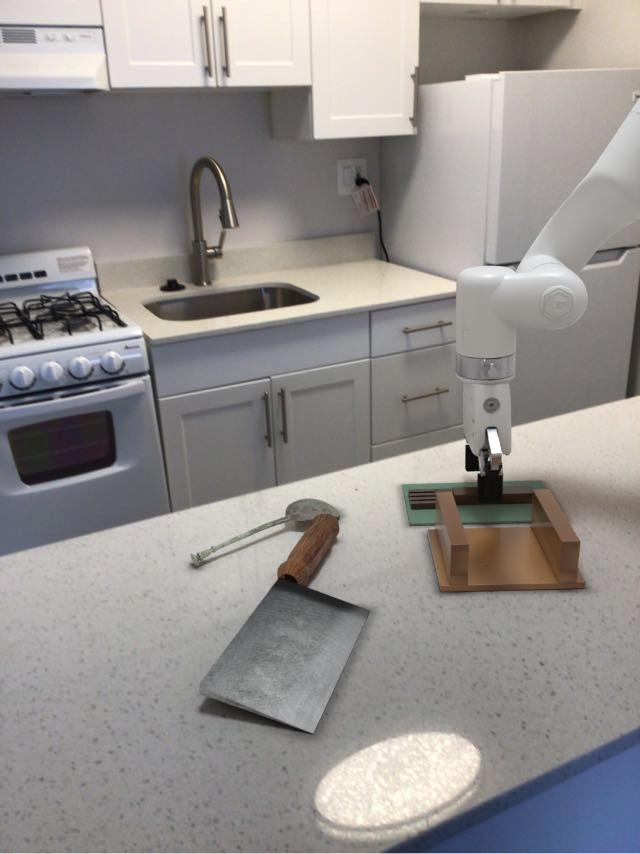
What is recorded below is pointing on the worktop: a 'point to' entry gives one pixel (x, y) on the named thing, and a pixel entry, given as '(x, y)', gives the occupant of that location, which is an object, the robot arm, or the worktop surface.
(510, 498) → the fork
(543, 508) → the rack
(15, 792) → the worktop surface
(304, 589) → the meat cleaver
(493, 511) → the mat
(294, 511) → the soupspoon
